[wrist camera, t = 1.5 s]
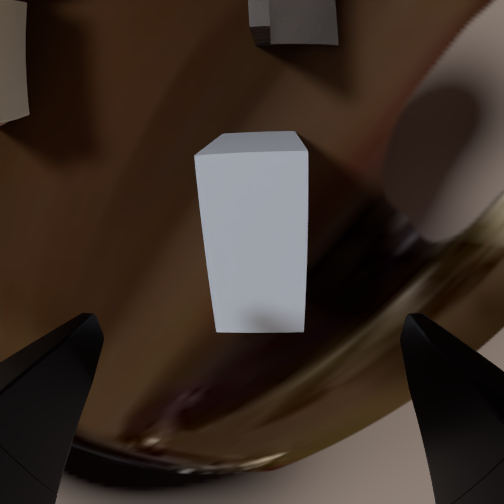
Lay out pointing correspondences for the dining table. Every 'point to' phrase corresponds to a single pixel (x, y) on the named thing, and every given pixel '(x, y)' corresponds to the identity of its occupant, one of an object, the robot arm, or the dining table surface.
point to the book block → (13, 61)
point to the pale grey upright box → (255, 229)
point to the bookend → (293, 22)
